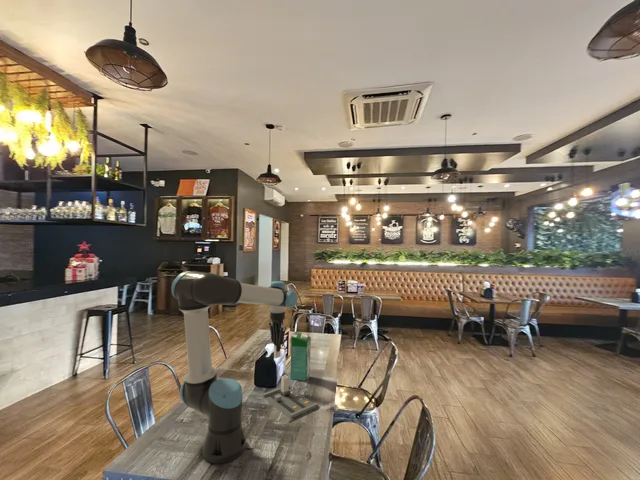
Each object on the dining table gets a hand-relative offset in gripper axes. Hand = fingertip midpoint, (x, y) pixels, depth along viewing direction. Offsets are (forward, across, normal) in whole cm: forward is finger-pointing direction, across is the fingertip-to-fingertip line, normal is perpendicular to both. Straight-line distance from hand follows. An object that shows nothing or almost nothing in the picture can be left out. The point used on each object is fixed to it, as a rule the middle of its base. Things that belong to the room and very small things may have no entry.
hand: (276, 357), depth 152 cm
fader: (+16, -8, 0) cm, 18 cm away
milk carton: (+18, +3, -18) cm, 25 cm away
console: (+17, -15, +2) cm, 23 cm away
